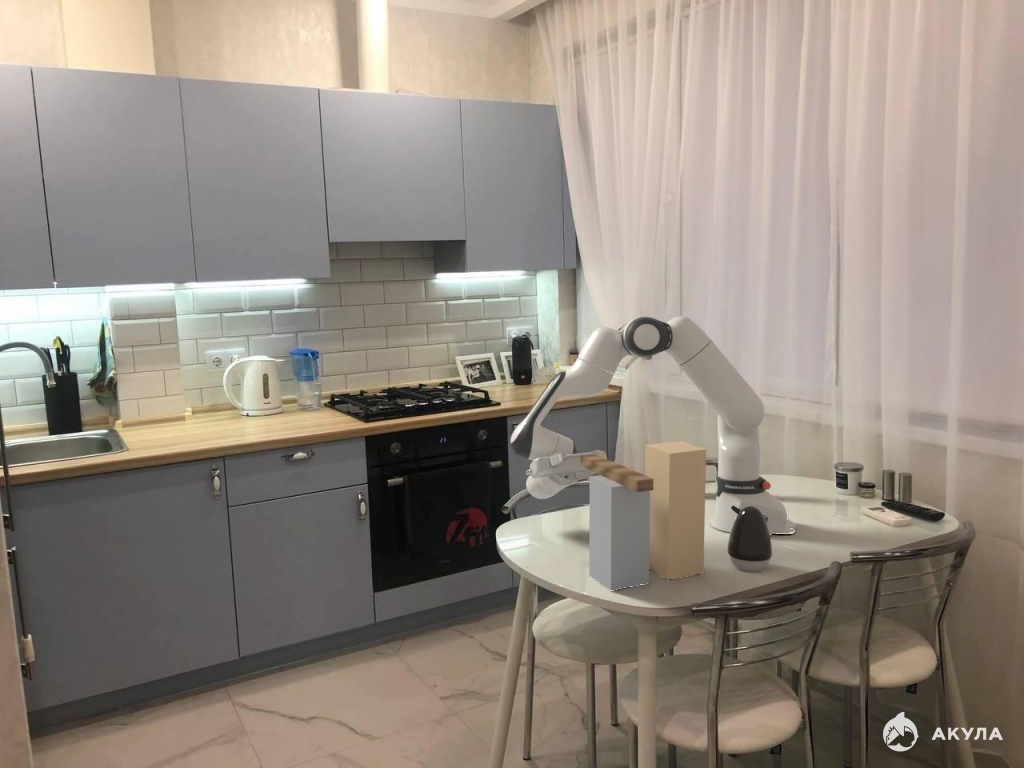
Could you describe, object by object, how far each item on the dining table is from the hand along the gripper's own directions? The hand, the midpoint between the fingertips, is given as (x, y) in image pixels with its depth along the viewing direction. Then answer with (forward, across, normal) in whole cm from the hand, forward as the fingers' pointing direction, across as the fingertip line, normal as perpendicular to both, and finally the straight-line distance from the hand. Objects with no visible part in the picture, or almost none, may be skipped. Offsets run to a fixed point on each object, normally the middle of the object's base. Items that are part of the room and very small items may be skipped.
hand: (581, 454), depth 202 cm
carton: (+3, +15, +32) cm, 35 cm away
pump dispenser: (+9, +32, +35) cm, 48 cm away
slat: (+13, 0, +10) cm, 16 cm away
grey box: (+3, 0, +32) cm, 32 cm away
